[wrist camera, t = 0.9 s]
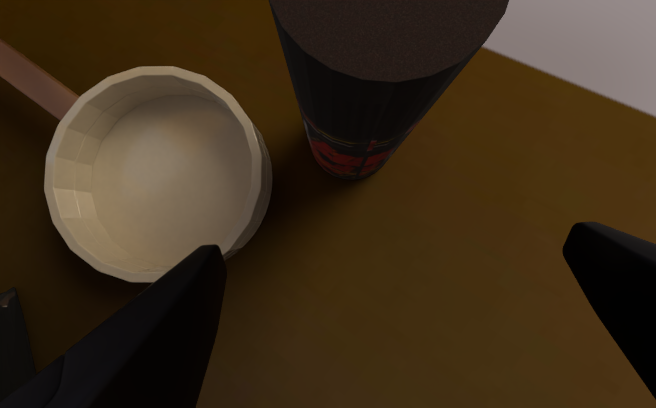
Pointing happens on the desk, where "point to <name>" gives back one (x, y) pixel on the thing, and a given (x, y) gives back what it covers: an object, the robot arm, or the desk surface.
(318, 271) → the desk surface
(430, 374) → the desk surface
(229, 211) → the pan
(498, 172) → the desk surface
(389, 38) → the deodorant
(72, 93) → the pan handle
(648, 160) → the desk surface
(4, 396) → the baking dish
